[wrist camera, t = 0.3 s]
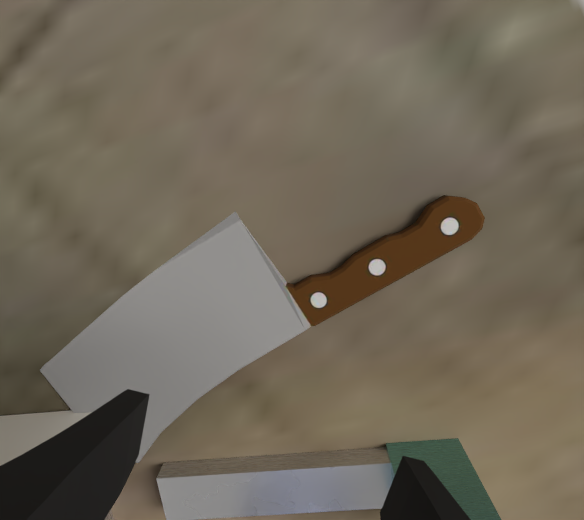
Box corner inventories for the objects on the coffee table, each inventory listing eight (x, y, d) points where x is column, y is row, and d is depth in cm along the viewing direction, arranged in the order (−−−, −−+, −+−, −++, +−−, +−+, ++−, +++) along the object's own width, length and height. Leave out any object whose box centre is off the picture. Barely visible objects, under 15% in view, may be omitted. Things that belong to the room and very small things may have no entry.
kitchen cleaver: (407, 70, 17) (511, 265, 18) (402, 76, 18) (501, 261, 19) (1, 336, 21) (111, 476, 23) (16, 329, 22) (120, 464, 24)
